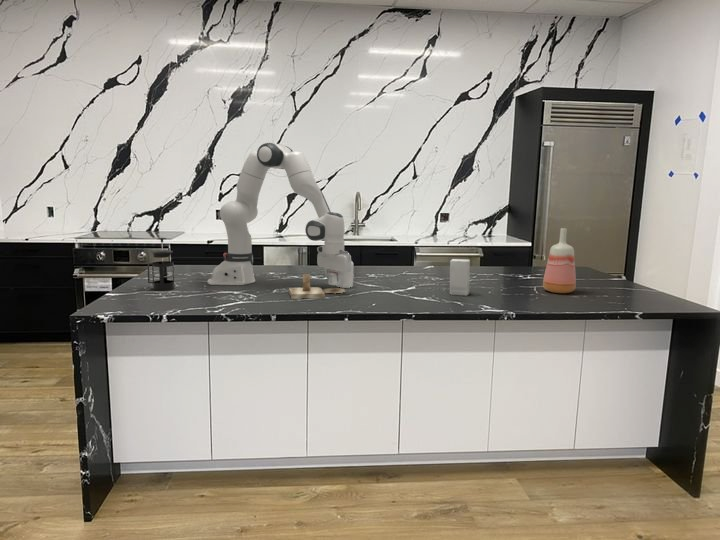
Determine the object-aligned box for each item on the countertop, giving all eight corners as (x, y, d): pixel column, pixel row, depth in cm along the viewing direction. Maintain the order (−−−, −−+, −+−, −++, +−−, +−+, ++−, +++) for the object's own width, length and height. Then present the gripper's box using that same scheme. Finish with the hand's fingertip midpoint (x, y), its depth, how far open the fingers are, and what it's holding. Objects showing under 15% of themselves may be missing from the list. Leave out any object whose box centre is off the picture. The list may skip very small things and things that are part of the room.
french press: (177, 286, 251) (176, 236, 248) (174, 290, 242) (173, 238, 238) (150, 287, 249) (148, 236, 245) (146, 291, 240) (144, 239, 236)
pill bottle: (351, 288, 254) (351, 256, 252) (334, 287, 256) (334, 255, 253) (354, 285, 262) (355, 254, 260) (338, 284, 263) (338, 253, 261)
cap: (325, 283, 246) (325, 271, 245) (334, 282, 250) (334, 270, 249) (334, 285, 243) (334, 273, 242) (343, 284, 247) (343, 271, 246)
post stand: (291, 298, 230) (291, 277, 229) (288, 292, 244) (288, 272, 242) (324, 298, 233) (324, 277, 232) (320, 291, 246) (320, 271, 245)
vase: (561, 288, 265) (566, 226, 260) (582, 294, 252) (587, 229, 247) (535, 289, 260) (540, 227, 256) (555, 295, 247) (560, 229, 242)
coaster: (324, 294, 241) (324, 292, 241) (321, 289, 251) (321, 288, 250) (346, 293, 243) (346, 292, 243) (342, 289, 253) (342, 287, 253)
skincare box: (469, 293, 248) (471, 259, 246) (467, 296, 242) (469, 261, 240) (450, 292, 251) (452, 258, 249) (448, 294, 245) (449, 260, 242)
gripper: (355, 251, 238) (354, 282, 240) (325, 246, 253) (325, 276, 255) (344, 252, 234) (343, 284, 236) (314, 247, 249) (314, 277, 251)
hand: (334, 279), depth 246 cm, fingers closed on cap, 6 cm apart
